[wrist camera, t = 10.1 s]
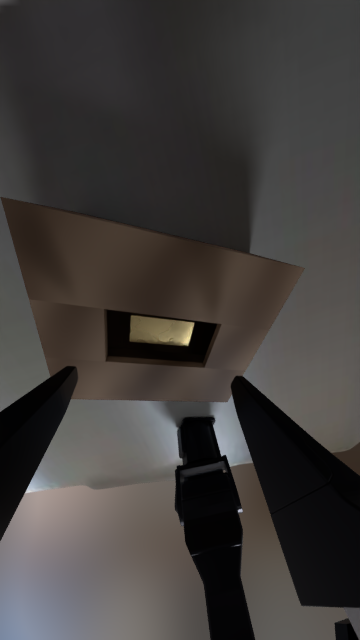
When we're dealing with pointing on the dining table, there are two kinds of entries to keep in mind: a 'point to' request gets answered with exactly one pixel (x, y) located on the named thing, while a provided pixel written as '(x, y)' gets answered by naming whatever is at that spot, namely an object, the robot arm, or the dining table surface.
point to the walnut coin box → (142, 304)
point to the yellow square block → (160, 330)
